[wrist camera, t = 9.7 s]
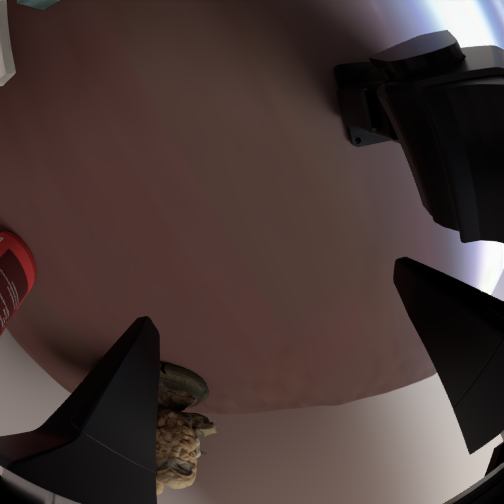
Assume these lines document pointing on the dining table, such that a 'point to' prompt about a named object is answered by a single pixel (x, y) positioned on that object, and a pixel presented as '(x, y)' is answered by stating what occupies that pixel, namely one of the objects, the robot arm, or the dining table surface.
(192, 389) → the khaki lumpy piece
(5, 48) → the outline
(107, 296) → the dining table surface
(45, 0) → the T block
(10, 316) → the red tapered cylinder
